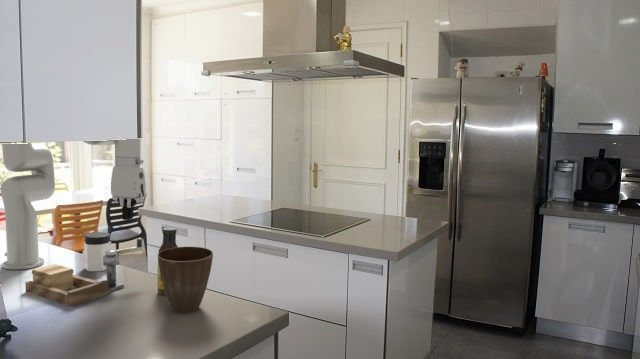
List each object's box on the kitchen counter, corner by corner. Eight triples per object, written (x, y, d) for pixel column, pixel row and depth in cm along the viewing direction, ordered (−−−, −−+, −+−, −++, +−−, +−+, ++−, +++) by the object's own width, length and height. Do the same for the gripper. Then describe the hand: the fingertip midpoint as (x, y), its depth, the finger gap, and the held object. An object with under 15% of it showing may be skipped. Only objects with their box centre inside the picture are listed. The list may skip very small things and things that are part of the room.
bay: (25, 291, 148) (25, 278, 147) (63, 280, 158) (63, 268, 158) (71, 306, 137) (70, 292, 137) (108, 293, 148) (108, 281, 148)
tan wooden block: (32, 288, 150) (31, 269, 149) (55, 282, 157) (54, 263, 156) (50, 294, 146) (50, 274, 145) (73, 287, 152) (73, 268, 151)
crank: (139, 249, 160) (139, 237, 160) (144, 250, 158) (144, 239, 158) (103, 255, 152) (103, 243, 151) (108, 257, 150) (107, 245, 149)
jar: (114, 269, 172) (113, 235, 171) (89, 273, 167) (88, 238, 165) (106, 263, 179) (105, 230, 177) (82, 266, 174) (81, 233, 172)
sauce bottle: (159, 296, 147) (158, 231, 145) (155, 290, 152) (154, 227, 150) (181, 293, 150) (181, 230, 148) (177, 287, 155) (176, 225, 153)
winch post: (99, 288, 152) (98, 257, 151) (113, 284, 157) (112, 253, 155) (110, 291, 150) (109, 259, 149) (123, 287, 154) (123, 255, 153)
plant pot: (224, 307, 140) (224, 252, 139) (182, 323, 128) (182, 264, 126) (188, 295, 149) (188, 243, 147) (146, 310, 136) (146, 254, 135)
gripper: (155, 162, 157) (155, 219, 159) (114, 159, 161) (114, 215, 163) (141, 164, 150) (141, 223, 152) (99, 161, 153) (99, 219, 156)
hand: (127, 219), depth 157 cm, fingers closed
